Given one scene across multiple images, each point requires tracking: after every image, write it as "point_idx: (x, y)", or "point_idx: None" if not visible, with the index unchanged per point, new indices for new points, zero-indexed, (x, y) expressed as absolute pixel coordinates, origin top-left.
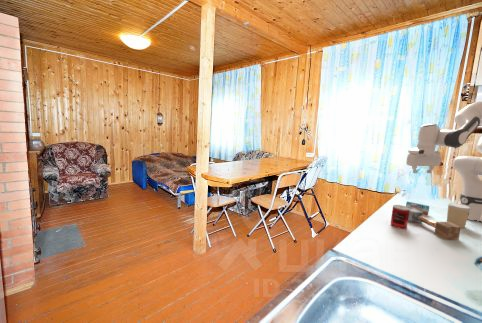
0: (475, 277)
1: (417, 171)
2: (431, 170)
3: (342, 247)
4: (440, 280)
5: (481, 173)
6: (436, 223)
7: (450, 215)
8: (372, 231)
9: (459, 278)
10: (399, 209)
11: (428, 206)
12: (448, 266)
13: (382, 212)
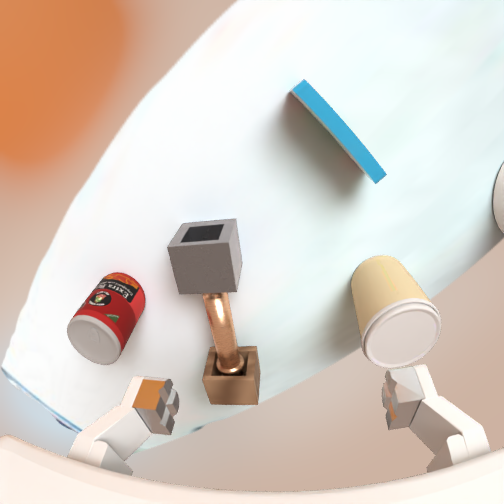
0: (164, 441)
1: (170, 423)
2: (420, 426)
3: (7, 364)
4: None
5: None
6: (203, 376)
7: (356, 309)
8: (45, 323)
9: None
10: (82, 352)
11: (374, 181)
12: None
13: (123, 149)
